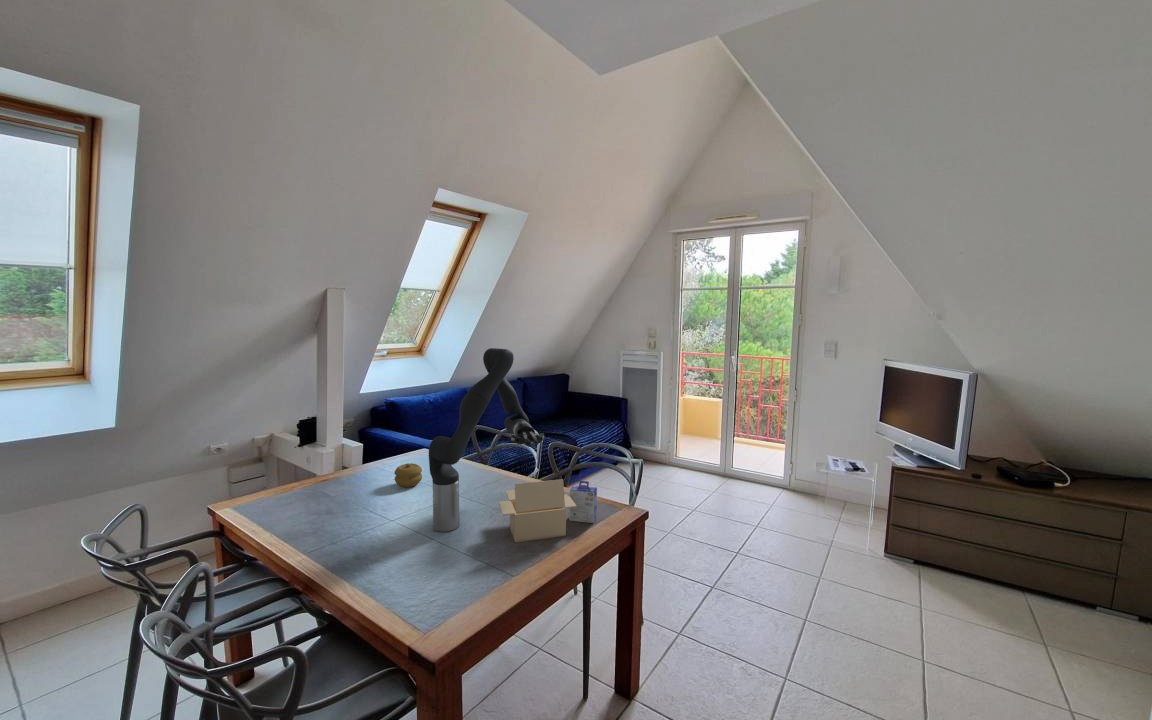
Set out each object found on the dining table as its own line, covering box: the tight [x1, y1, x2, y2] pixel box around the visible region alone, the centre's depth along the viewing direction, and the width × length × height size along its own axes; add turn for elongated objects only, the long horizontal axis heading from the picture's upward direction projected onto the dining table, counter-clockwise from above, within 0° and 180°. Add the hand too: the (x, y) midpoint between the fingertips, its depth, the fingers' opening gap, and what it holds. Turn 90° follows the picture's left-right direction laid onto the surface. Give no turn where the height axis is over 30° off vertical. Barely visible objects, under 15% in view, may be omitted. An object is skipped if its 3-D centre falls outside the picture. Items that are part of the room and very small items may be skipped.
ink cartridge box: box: [568, 480, 598, 524], centre depth 179 cm, size 10×6×14 cm, turn 78°
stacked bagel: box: [394, 462, 423, 488], centre depth 211 cm, size 12×12×10 cm
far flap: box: [514, 478, 565, 512], centre depth 163 cm, size 17×9×1 cm
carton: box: [498, 489, 577, 544], centre depth 173 cm, size 26×21×10 cm
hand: (532, 443), depth 173 cm, fingers closed
